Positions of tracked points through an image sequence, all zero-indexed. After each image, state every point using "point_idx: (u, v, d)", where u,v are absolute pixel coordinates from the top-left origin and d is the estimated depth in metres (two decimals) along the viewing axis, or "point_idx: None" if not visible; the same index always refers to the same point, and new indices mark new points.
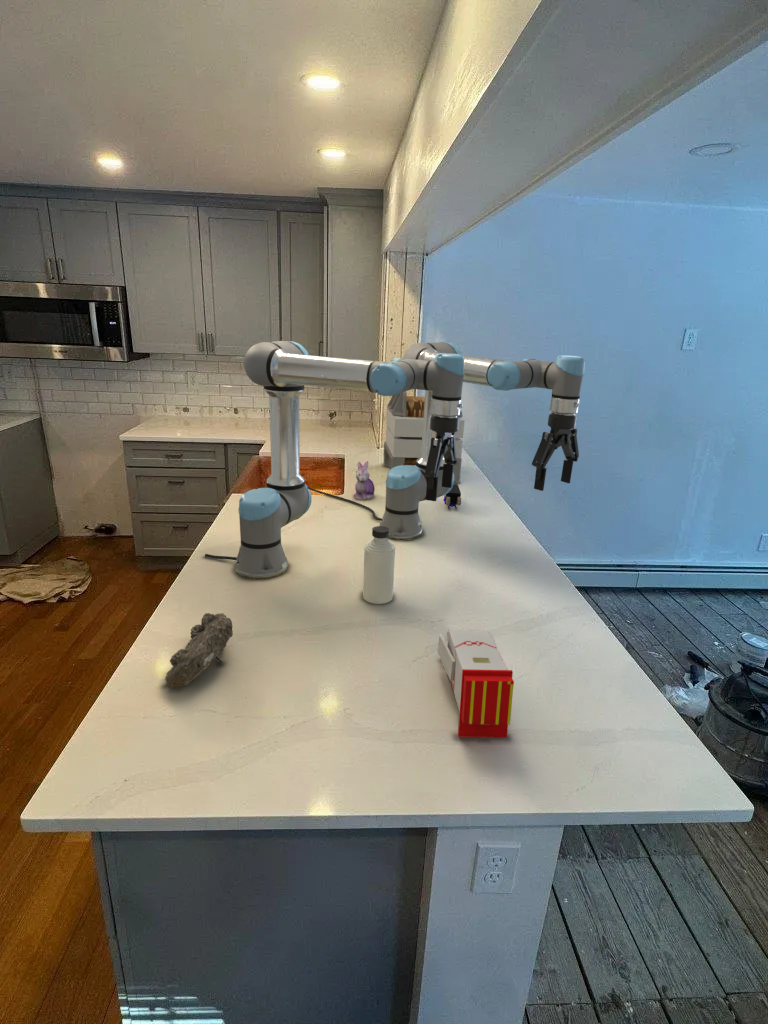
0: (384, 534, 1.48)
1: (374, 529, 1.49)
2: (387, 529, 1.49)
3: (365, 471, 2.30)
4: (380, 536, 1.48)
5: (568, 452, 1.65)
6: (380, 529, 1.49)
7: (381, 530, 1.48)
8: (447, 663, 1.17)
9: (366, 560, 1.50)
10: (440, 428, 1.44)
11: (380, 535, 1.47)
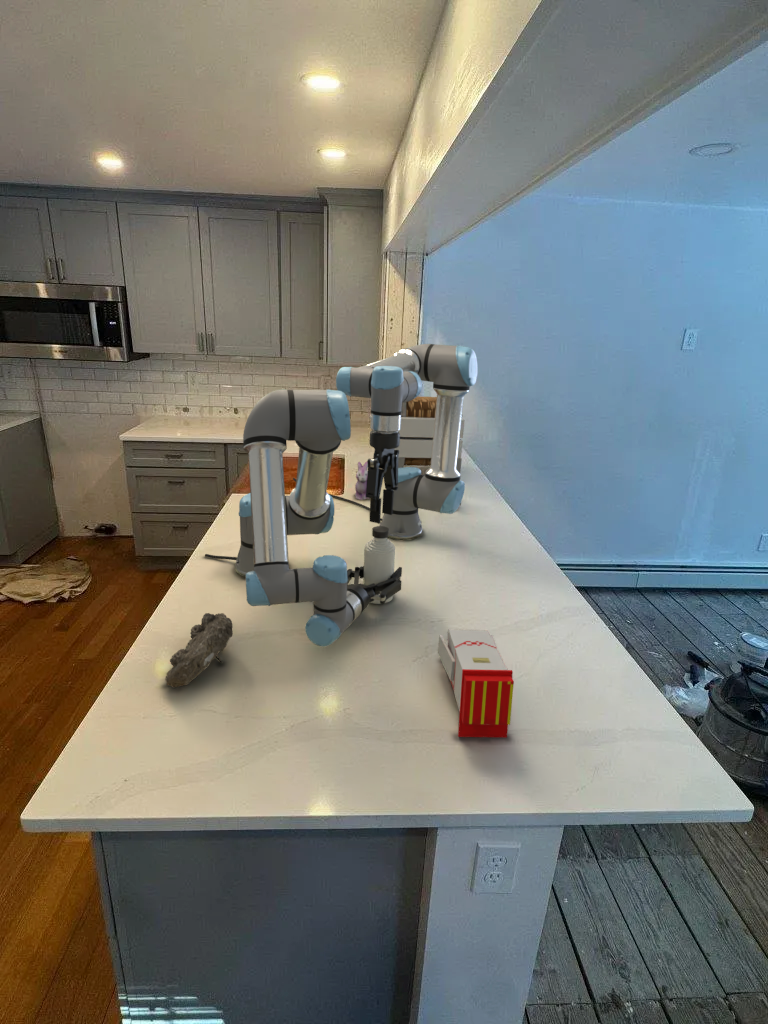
0: (384, 534, 1.48)
1: (374, 529, 1.49)
2: (387, 529, 1.49)
3: (365, 471, 2.30)
4: (380, 536, 1.48)
5: None
6: (380, 529, 1.49)
7: (381, 530, 1.48)
8: (447, 663, 1.17)
9: (366, 560, 1.50)
10: None
11: (380, 535, 1.47)
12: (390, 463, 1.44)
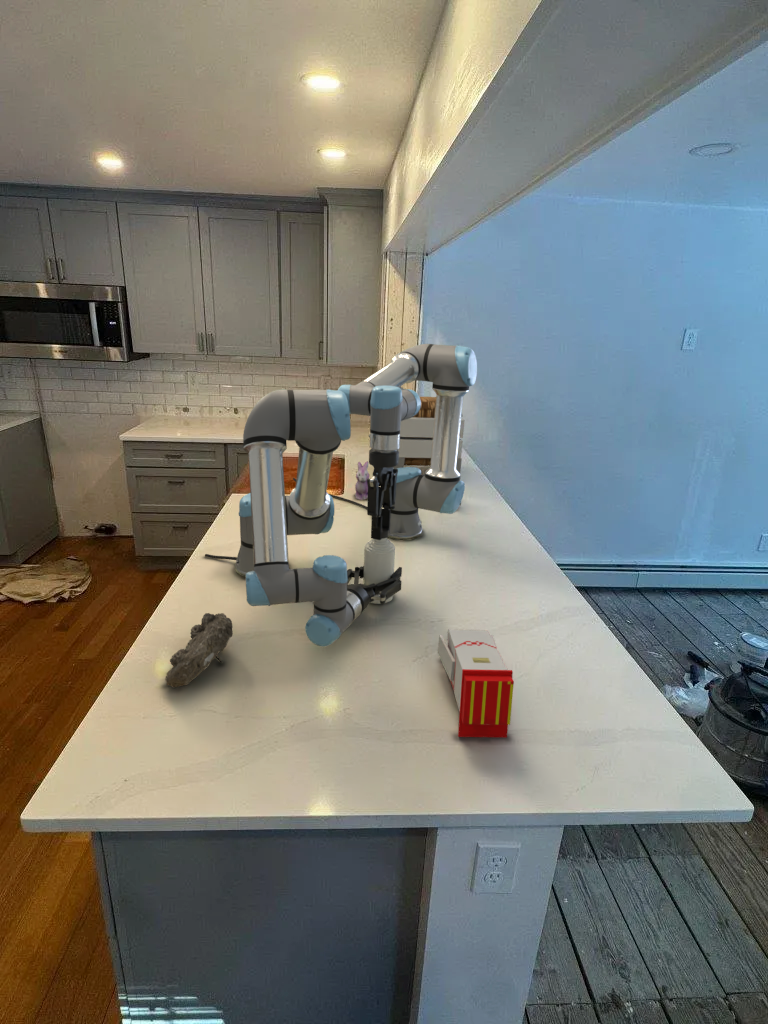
0: (384, 534, 1.48)
1: None
2: (387, 529, 1.49)
3: (365, 471, 2.30)
4: None
5: None
6: None
7: None
8: (447, 663, 1.17)
9: (366, 560, 1.50)
10: None
11: None
12: (389, 481, 1.45)
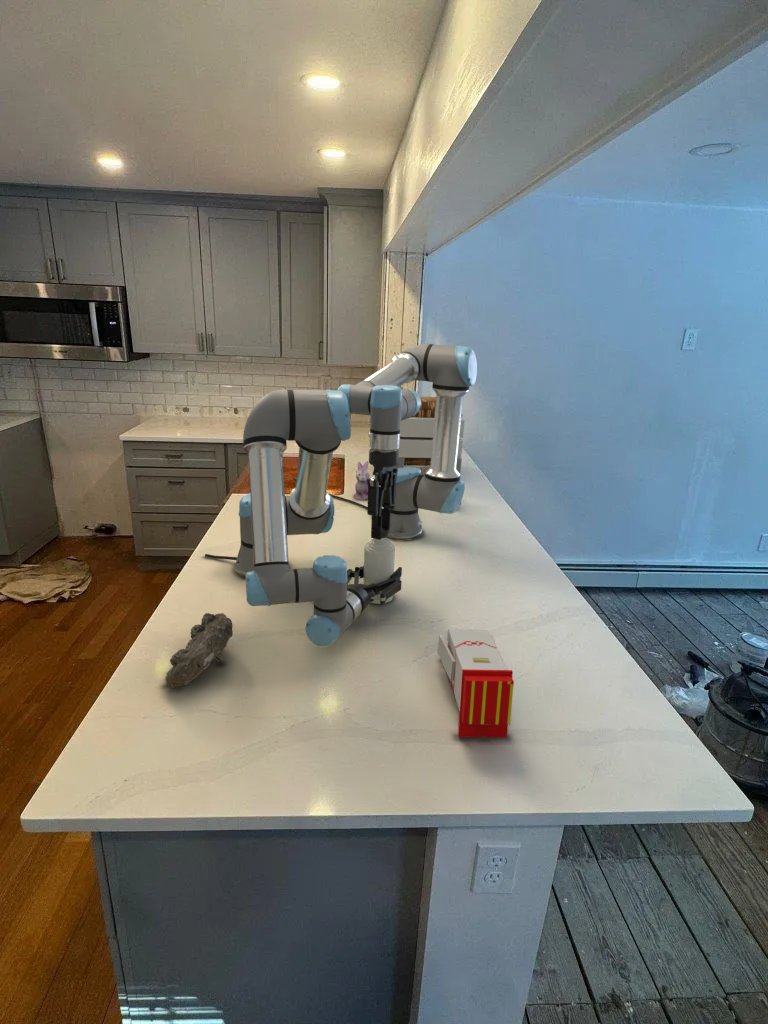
0: None
1: (385, 530, 1.48)
2: None
3: (365, 471, 2.30)
4: None
5: None
6: None
7: (383, 527, 1.50)
8: (447, 663, 1.17)
9: (366, 560, 1.50)
10: None
11: None
12: (389, 481, 1.45)
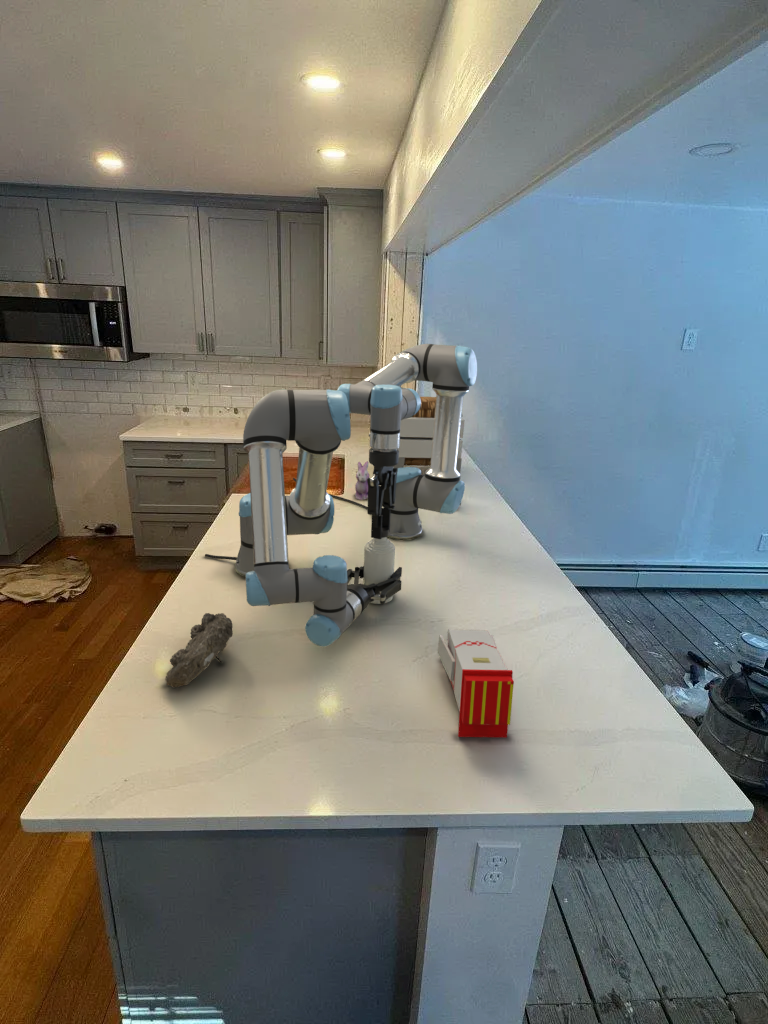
0: None
1: None
2: None
3: (365, 471, 2.30)
4: None
5: None
6: None
7: None
8: (447, 663, 1.17)
9: (366, 560, 1.50)
10: None
11: None
12: (389, 480, 1.45)
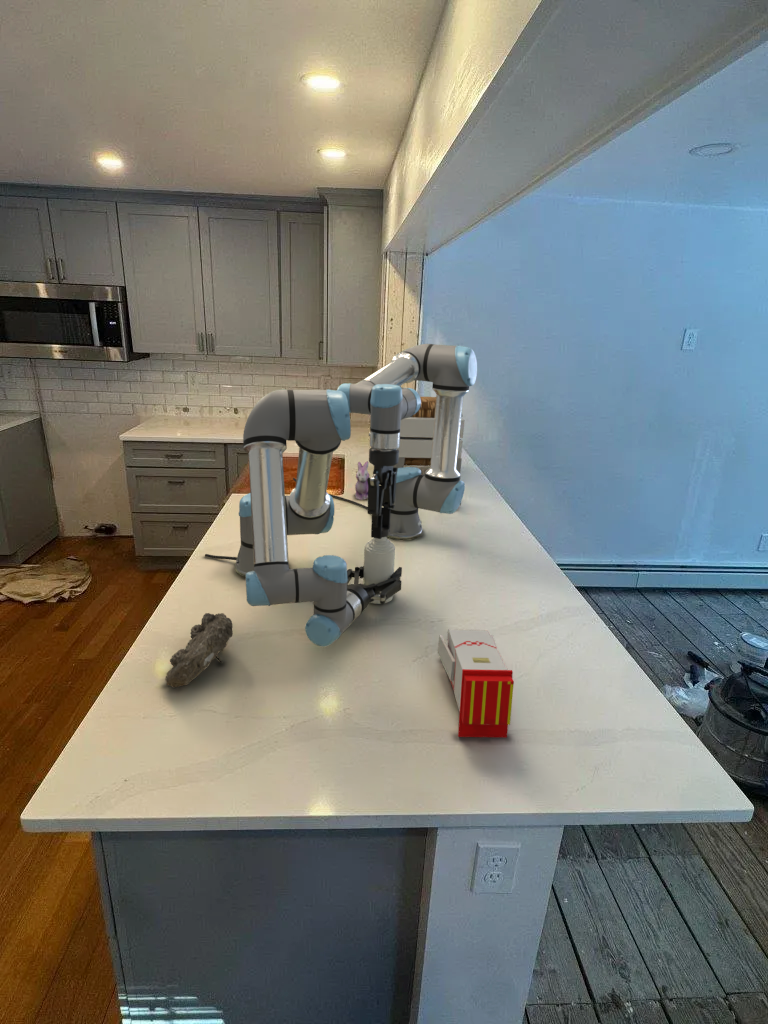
0: (386, 532, 1.48)
1: None
2: (387, 527, 1.49)
3: (365, 471, 2.30)
4: (382, 535, 1.48)
5: None
6: None
7: (382, 529, 1.48)
8: (447, 663, 1.17)
9: (366, 560, 1.50)
10: None
11: (382, 534, 1.47)
12: (389, 480, 1.45)
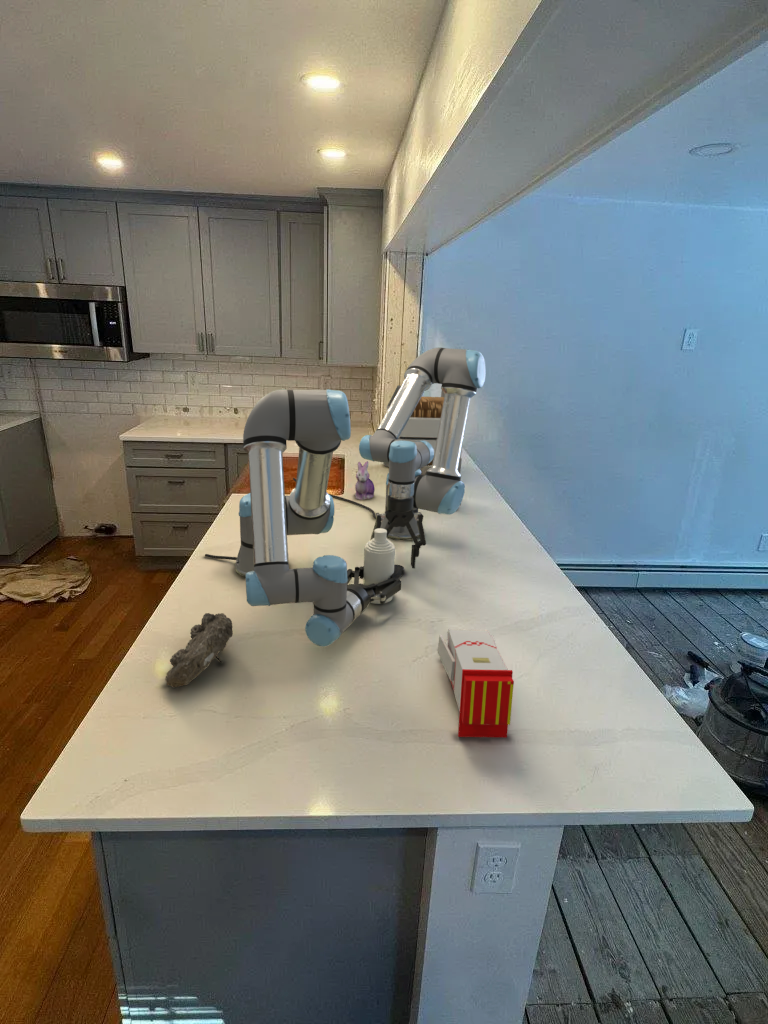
0: None
1: None
2: None
3: (365, 471, 2.30)
4: None
5: (411, 536, 1.66)
6: (397, 567, 1.70)
7: (398, 566, 1.71)
8: (447, 663, 1.17)
9: (366, 560, 1.50)
10: None
11: None
12: None
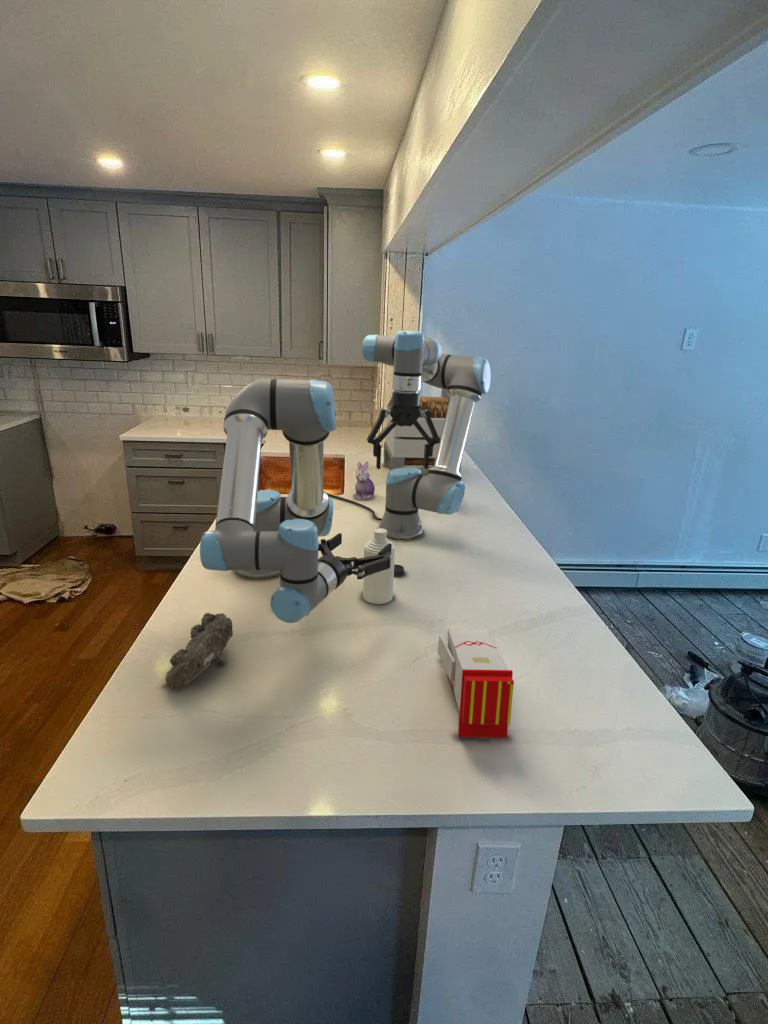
0: None
1: (401, 568, 1.69)
2: None
3: (365, 471, 2.30)
4: None
5: (422, 435, 1.56)
6: (397, 567, 1.70)
7: (398, 566, 1.71)
8: (447, 663, 1.17)
9: None
10: None
11: None
12: None
